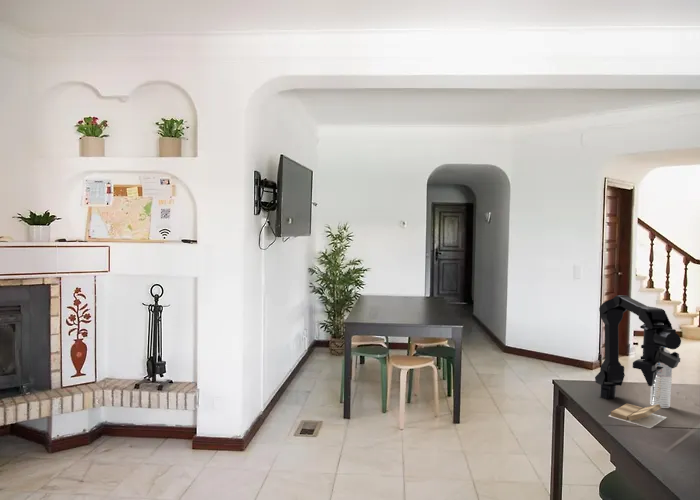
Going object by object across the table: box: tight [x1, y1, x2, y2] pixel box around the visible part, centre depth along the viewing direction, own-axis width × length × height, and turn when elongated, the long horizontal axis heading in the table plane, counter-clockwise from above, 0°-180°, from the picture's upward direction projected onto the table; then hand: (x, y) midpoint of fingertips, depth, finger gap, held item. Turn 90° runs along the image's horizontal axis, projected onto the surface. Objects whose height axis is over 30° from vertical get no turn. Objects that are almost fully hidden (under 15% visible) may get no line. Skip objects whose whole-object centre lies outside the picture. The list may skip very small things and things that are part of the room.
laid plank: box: [610, 403, 643, 421], centre depth 188 cm, size 15×6×2 cm, turn 131°
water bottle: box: [649, 347, 673, 409], centre depth 199 cm, size 7×7×25 cm
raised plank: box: [628, 404, 662, 421], centre depth 184 cm, size 15×6×2 cm, turn 131°
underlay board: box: [608, 413, 668, 429], centre depth 185 cm, size 17×14×1 cm
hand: (650, 385), depth 182 cm, fingers closed
